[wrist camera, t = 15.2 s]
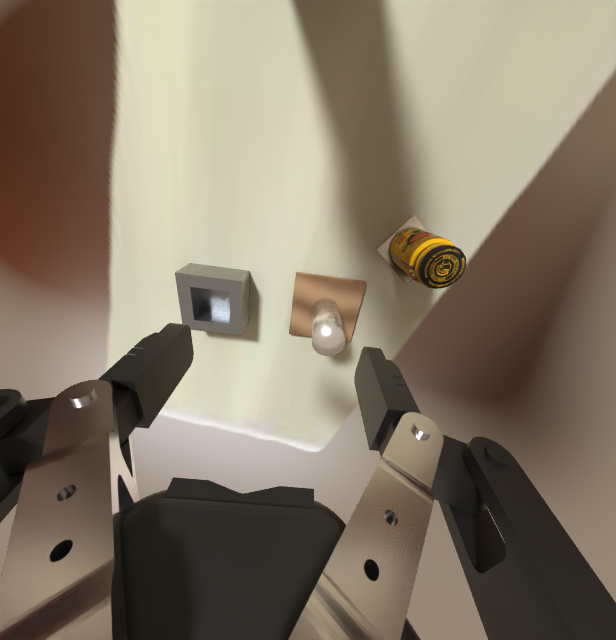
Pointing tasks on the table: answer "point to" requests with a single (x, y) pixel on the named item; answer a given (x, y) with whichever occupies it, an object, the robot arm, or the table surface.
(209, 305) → the housing
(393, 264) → the condiment
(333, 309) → the plug
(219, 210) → the table surface
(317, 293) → the board
